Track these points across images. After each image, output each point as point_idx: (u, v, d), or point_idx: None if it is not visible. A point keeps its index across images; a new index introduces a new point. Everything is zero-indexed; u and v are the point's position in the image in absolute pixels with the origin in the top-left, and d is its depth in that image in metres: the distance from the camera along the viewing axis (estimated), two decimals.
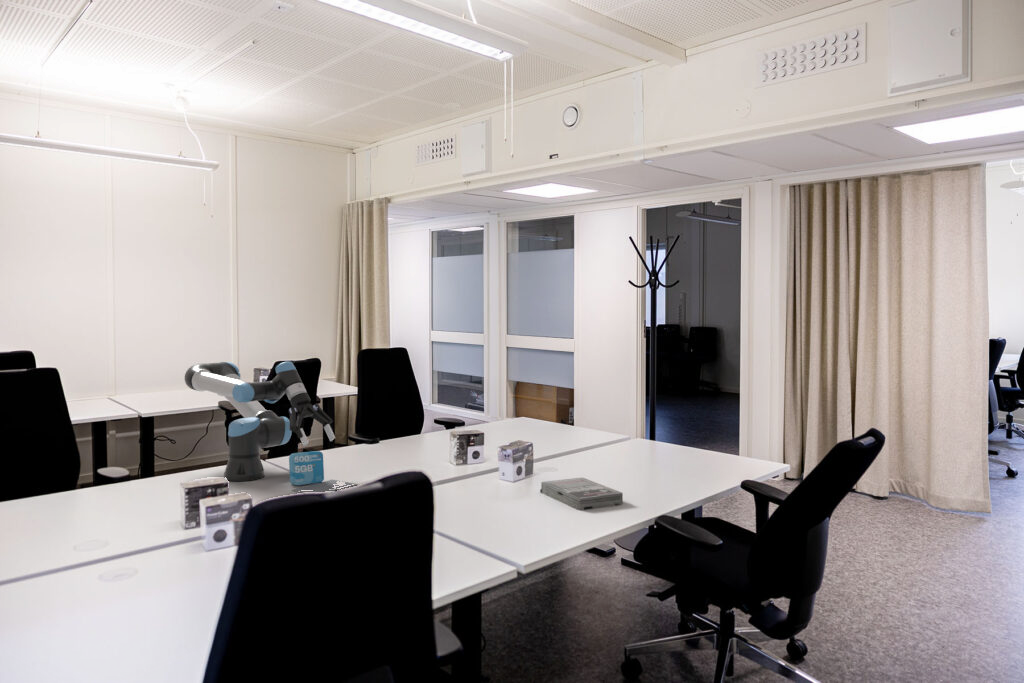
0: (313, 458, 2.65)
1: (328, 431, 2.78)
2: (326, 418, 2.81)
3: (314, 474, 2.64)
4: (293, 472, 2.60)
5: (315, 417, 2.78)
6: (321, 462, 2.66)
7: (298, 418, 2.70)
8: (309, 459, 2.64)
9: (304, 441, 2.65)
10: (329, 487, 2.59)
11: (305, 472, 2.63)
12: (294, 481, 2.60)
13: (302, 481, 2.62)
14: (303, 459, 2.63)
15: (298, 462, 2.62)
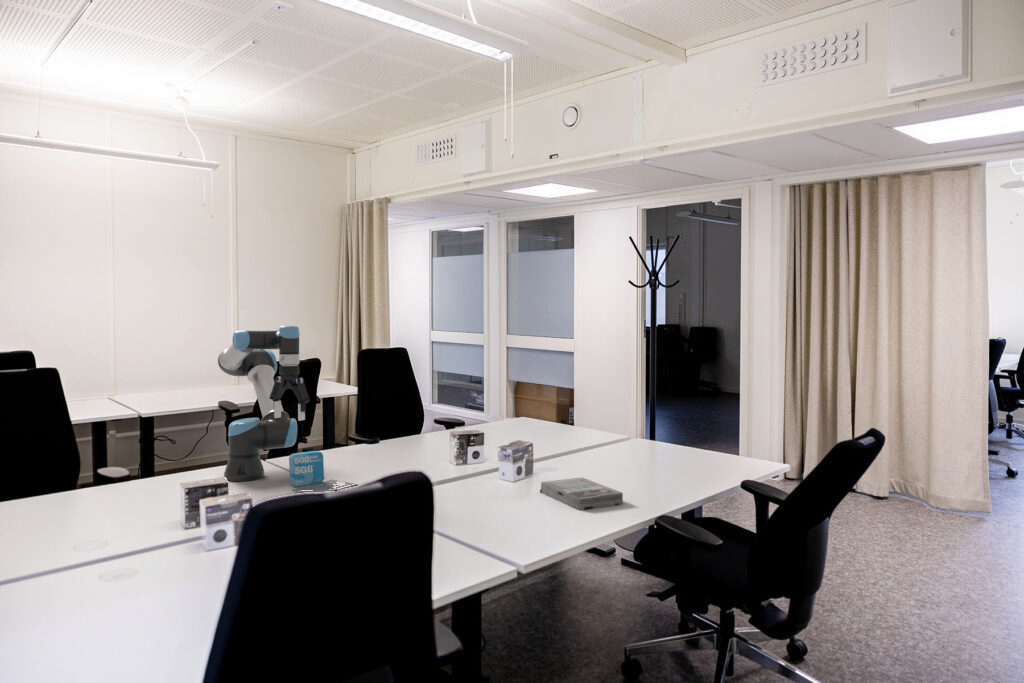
0: (313, 459, 2.64)
1: None
2: None
3: (314, 475, 2.64)
4: (293, 473, 2.60)
5: None
6: (321, 463, 2.66)
7: None
8: (309, 460, 2.63)
9: None
10: (329, 487, 2.59)
11: (305, 473, 2.62)
12: (294, 482, 2.60)
13: (302, 482, 2.62)
14: (303, 460, 2.62)
15: (298, 463, 2.61)
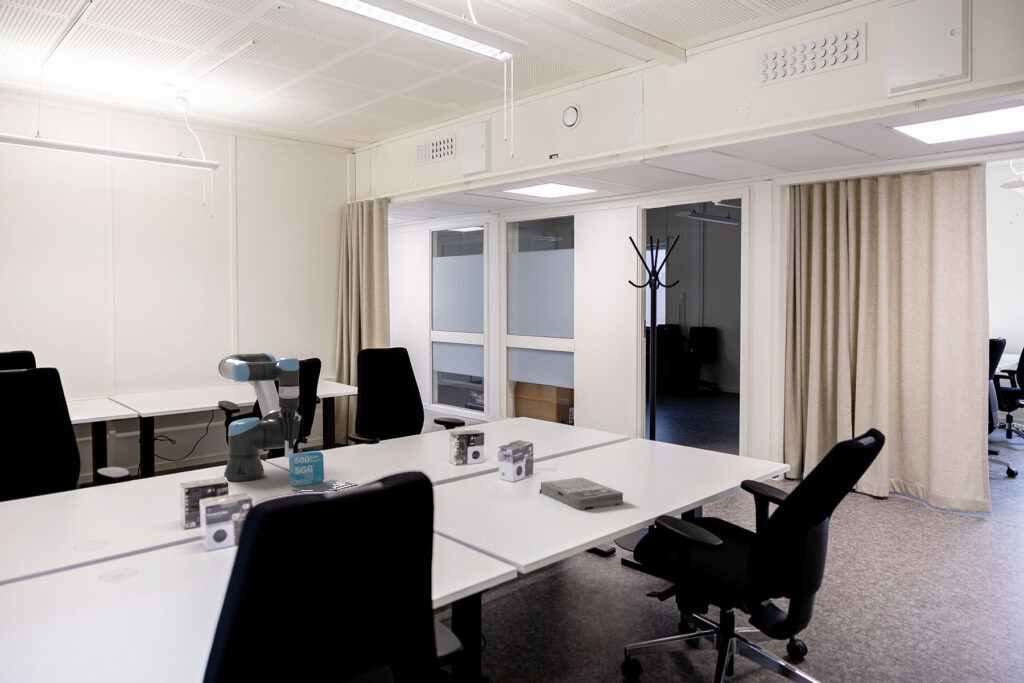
0: (313, 459, 2.64)
1: None
2: None
3: (314, 475, 2.64)
4: (293, 473, 2.60)
5: None
6: (321, 463, 2.66)
7: None
8: (309, 460, 2.63)
9: None
10: (329, 487, 2.59)
11: (305, 473, 2.62)
12: (294, 482, 2.60)
13: (302, 482, 2.62)
14: (303, 460, 2.62)
15: (298, 463, 2.61)
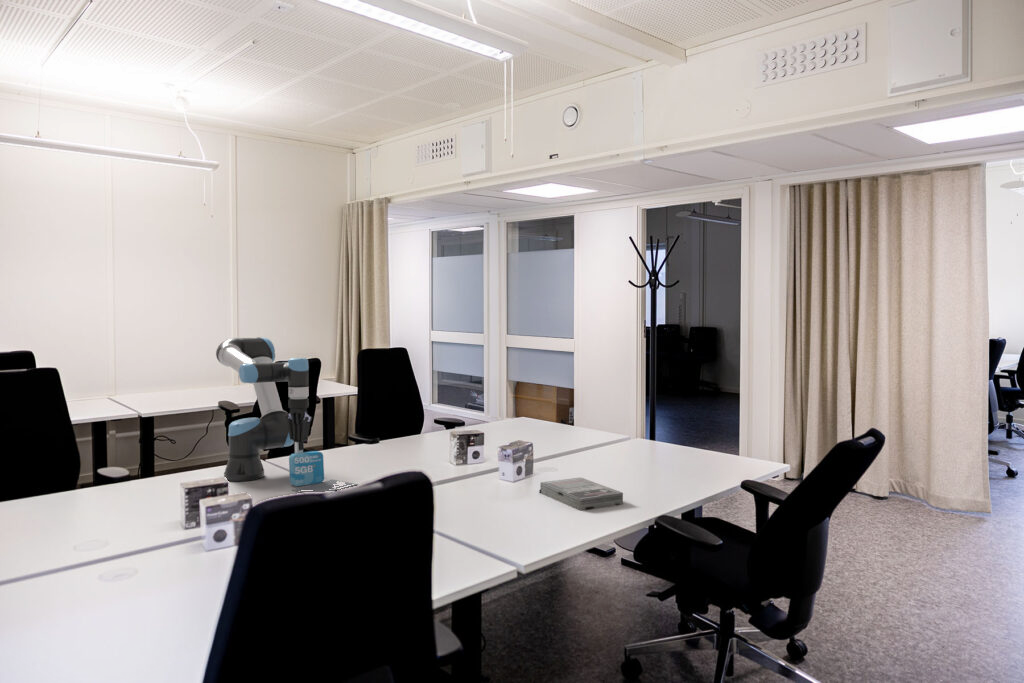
0: (313, 459, 2.64)
1: None
2: None
3: (314, 475, 2.64)
4: (293, 473, 2.60)
5: None
6: (321, 463, 2.66)
7: None
8: (309, 460, 2.63)
9: None
10: (329, 487, 2.59)
11: (305, 473, 2.62)
12: (294, 482, 2.60)
13: (302, 482, 2.62)
14: (303, 460, 2.62)
15: (298, 463, 2.61)
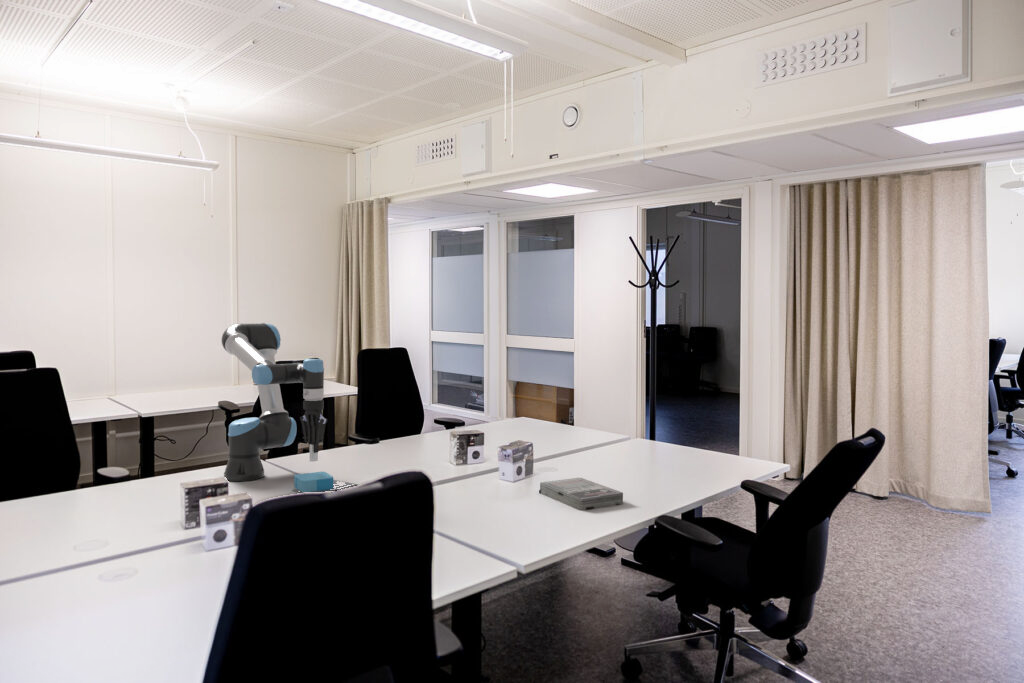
0: None
1: None
2: None
3: None
4: (297, 488, 2.56)
5: None
6: None
7: None
8: None
9: None
10: None
11: None
12: None
13: None
14: None
15: None
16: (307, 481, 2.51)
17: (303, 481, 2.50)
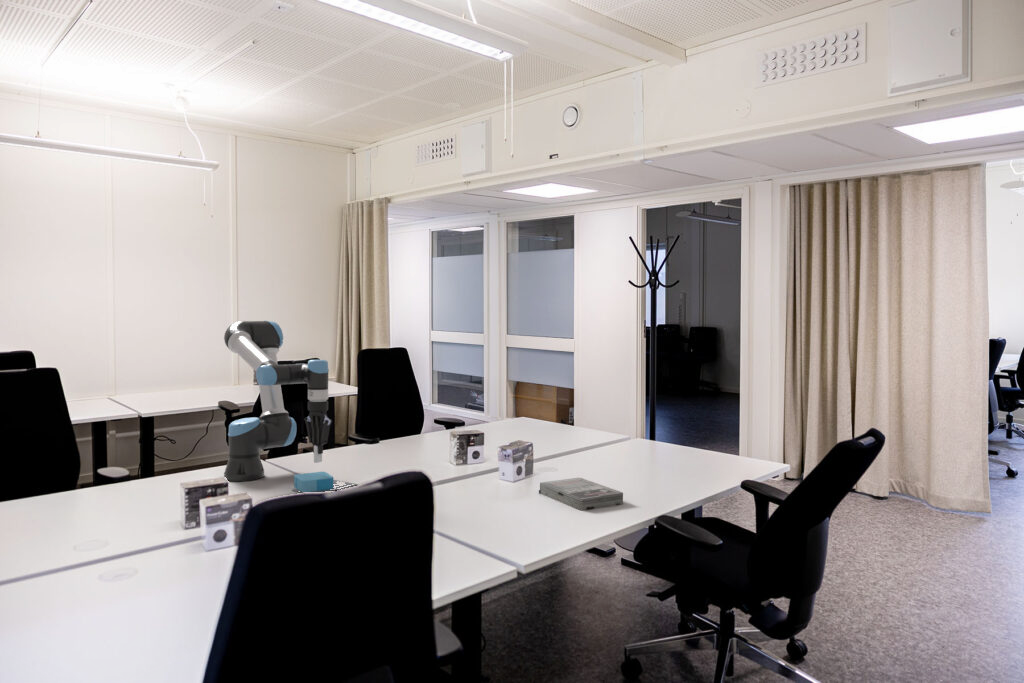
0: None
1: None
2: None
3: None
4: (297, 488, 2.56)
5: None
6: None
7: None
8: None
9: None
10: None
11: None
12: None
13: None
14: None
15: None
16: (307, 481, 2.51)
17: (303, 481, 2.50)
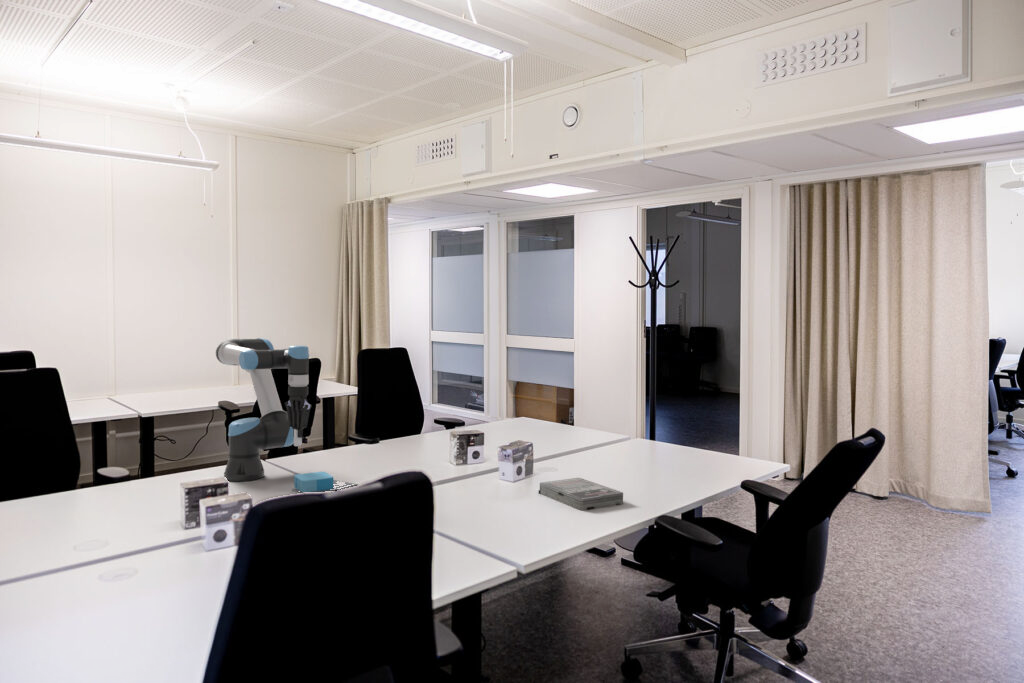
0: None
1: None
2: None
3: None
4: (297, 488, 2.56)
5: None
6: None
7: None
8: None
9: None
10: None
11: None
12: None
13: None
14: None
15: None
16: (307, 481, 2.51)
17: (303, 481, 2.50)
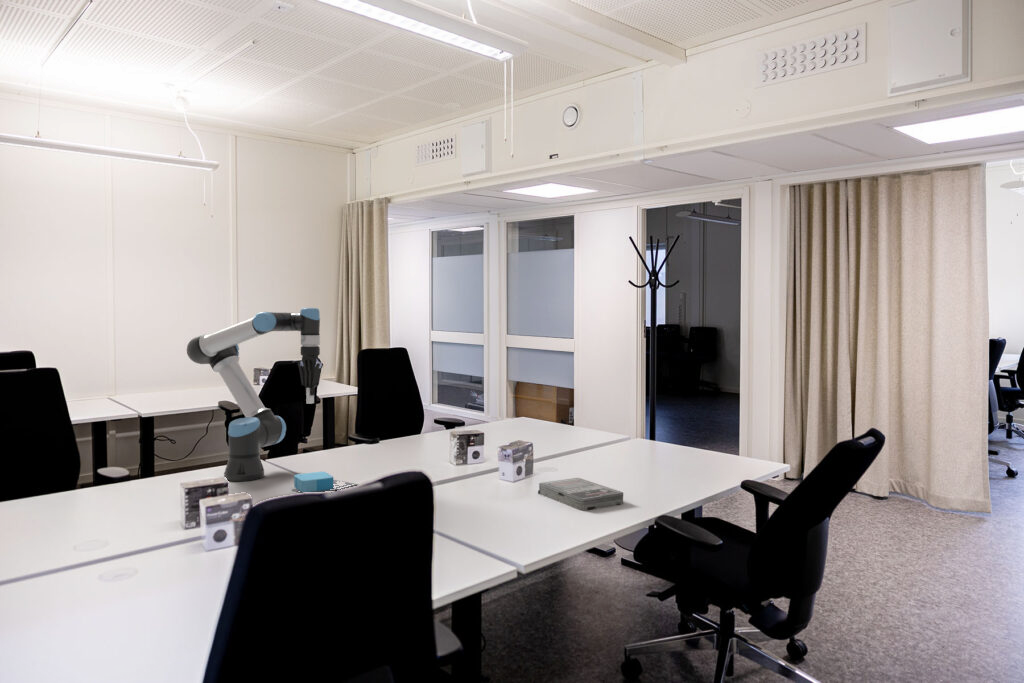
0: None
1: None
2: None
3: None
4: (297, 488, 2.56)
5: None
6: None
7: None
8: None
9: None
10: None
11: None
12: None
13: None
14: None
15: None
16: (307, 481, 2.51)
17: (303, 481, 2.50)
